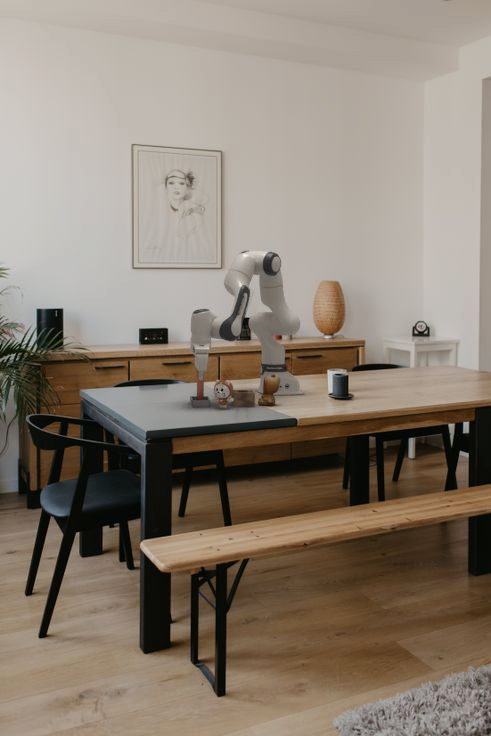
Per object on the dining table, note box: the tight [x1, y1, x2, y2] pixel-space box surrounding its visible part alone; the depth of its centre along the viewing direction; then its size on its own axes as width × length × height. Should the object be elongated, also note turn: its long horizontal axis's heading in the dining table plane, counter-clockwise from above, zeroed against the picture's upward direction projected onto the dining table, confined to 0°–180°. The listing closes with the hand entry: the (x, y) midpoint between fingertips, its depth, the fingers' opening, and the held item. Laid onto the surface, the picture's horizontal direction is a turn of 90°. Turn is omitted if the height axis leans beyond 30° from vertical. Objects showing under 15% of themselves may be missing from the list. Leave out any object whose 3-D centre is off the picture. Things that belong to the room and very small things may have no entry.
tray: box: [189, 395, 211, 408], centre depth 297 cm, size 8×11×3 cm
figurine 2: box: [257, 374, 280, 407], centre depth 301 cm, size 10×8×15 cm
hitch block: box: [230, 389, 256, 408], centre depth 299 cm, size 9×9×6 cm
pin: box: [196, 370, 205, 400], centre depth 297 cm, size 3×3×13 cm
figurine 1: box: [212, 379, 234, 409], centre depth 290 cm, size 9×9×12 cm
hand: (200, 379), depth 296 cm, fingers closed on pin, 3 cm apart
